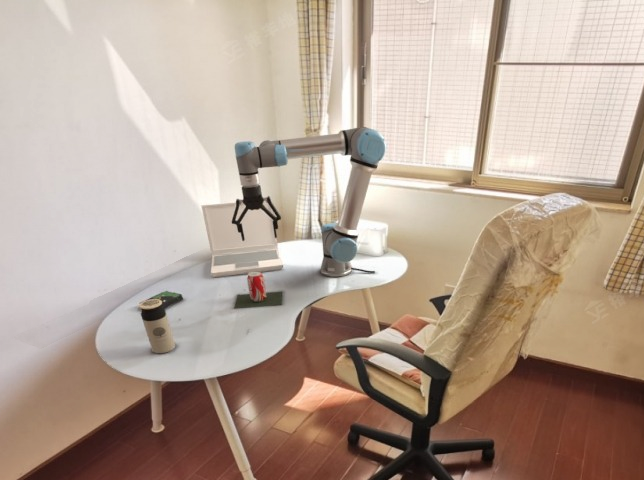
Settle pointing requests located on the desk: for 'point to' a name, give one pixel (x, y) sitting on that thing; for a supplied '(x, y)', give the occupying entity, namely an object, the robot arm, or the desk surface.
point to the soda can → (256, 286)
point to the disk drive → (167, 298)
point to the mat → (270, 300)
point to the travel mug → (157, 326)
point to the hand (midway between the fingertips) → (259, 238)
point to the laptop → (228, 244)
